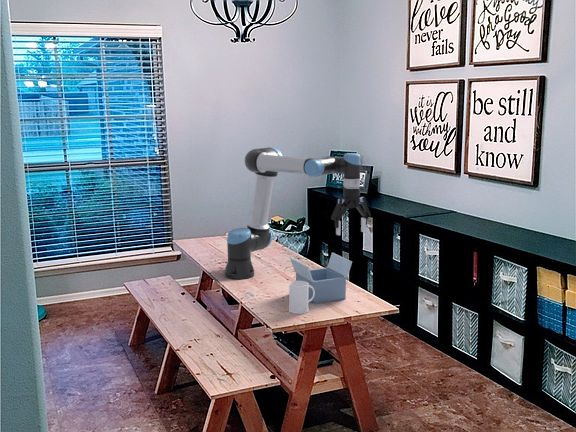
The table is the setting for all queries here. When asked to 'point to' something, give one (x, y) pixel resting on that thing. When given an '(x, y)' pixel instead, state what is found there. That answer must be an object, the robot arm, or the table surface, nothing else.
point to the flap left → (301, 269)
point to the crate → (325, 285)
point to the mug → (299, 297)
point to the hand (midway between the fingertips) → (350, 233)
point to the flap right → (339, 264)
